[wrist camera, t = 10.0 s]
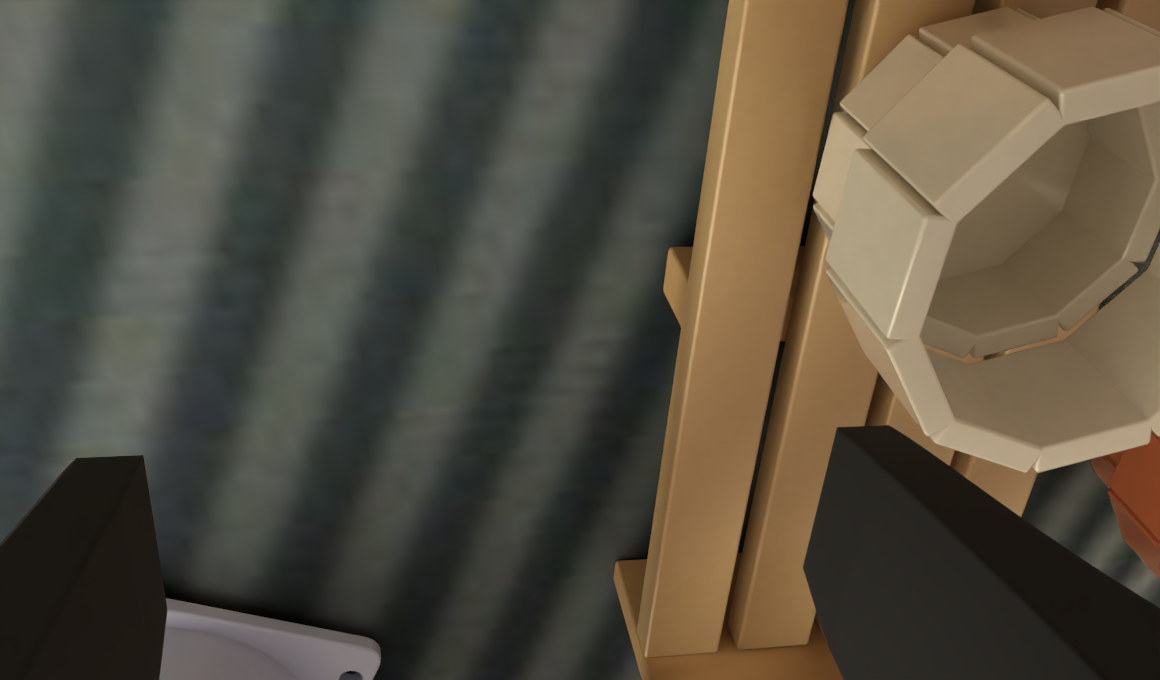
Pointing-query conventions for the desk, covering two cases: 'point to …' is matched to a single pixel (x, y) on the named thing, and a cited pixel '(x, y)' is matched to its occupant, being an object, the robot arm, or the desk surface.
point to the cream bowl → (1006, 231)
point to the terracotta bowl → (1135, 496)
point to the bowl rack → (774, 353)
